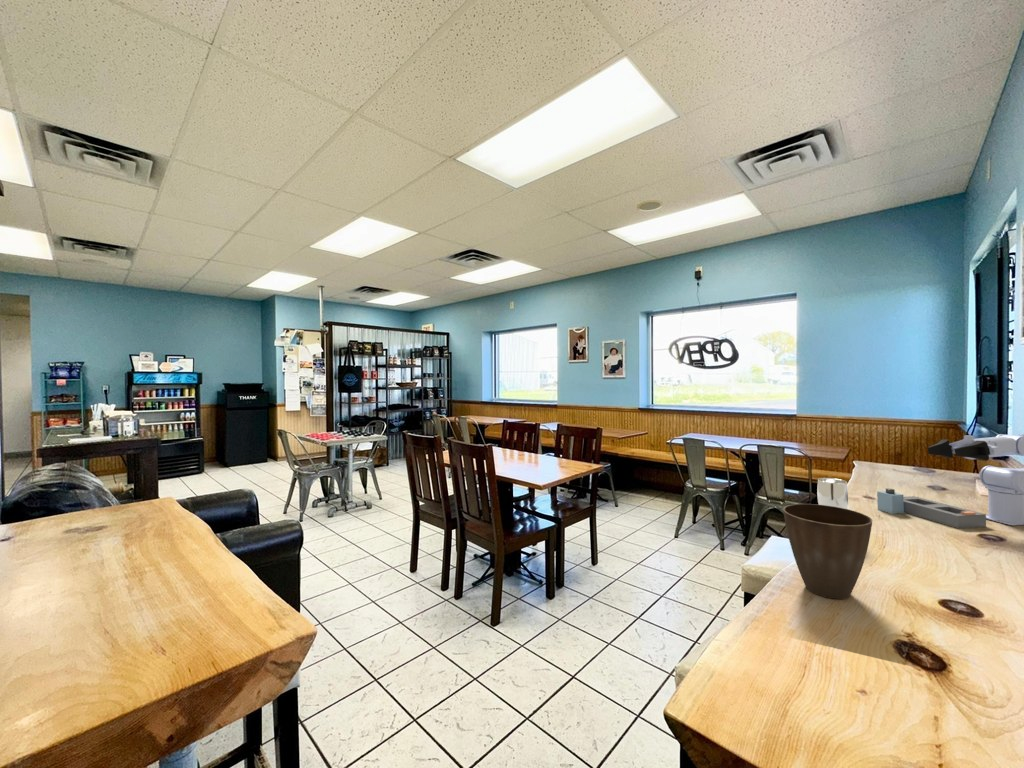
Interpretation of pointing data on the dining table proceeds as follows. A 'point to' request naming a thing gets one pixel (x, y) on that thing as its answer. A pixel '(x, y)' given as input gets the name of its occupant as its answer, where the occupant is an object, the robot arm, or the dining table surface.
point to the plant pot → (828, 546)
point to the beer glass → (832, 492)
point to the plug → (890, 501)
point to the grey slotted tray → (943, 513)
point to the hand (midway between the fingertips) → (942, 451)
